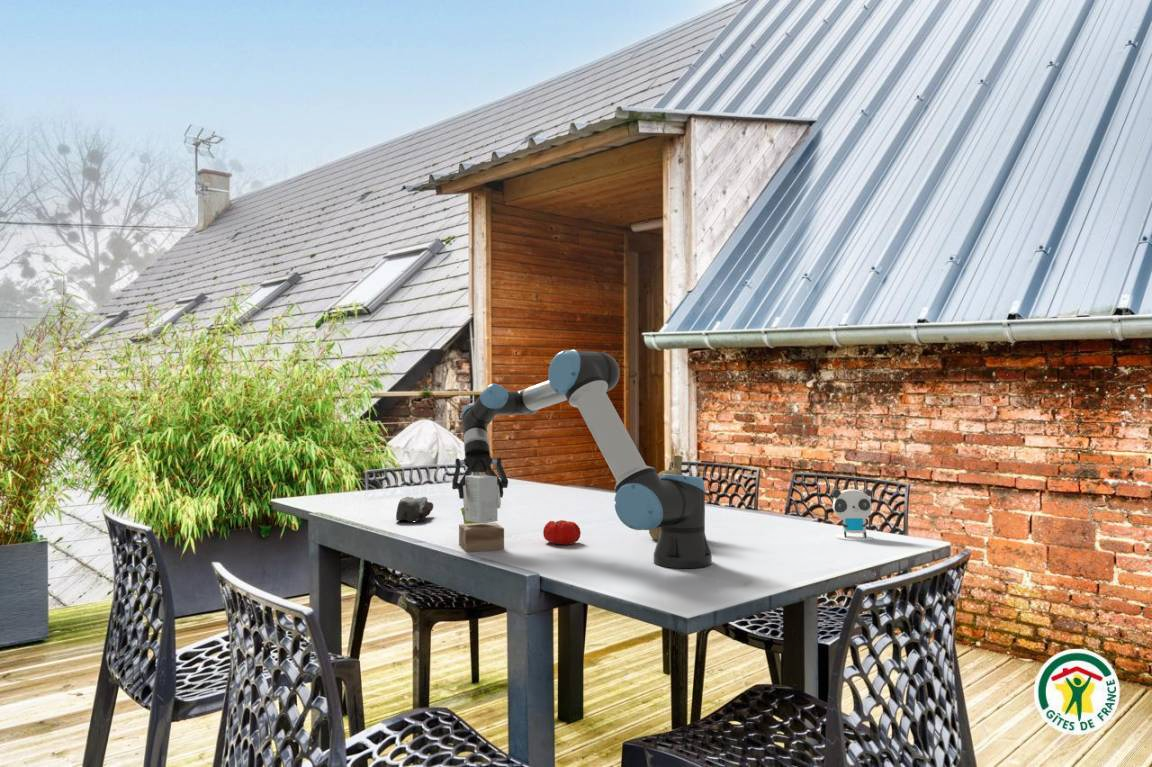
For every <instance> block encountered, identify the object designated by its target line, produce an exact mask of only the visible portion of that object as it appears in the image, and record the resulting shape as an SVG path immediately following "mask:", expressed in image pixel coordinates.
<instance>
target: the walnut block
mask: <svg viewBox="0 0 1152 767" xmlns="http://www.w3.org/2000/svg"><path fill="white" fill-rule="evenodd" d="M458 546H461V547H462V548H463V549H464V550H465V551H467V552H466V553H469V552H468V551H472V552H482V551H481V550H489V551H498V550H497V549H504V550H505V528H504V527H502V525H500V524H499V523H498V522H497V523H496V521H495V522H487V523H473V524H464V523H461V524H459V525H458ZM461 547H460V548H461ZM462 548H461V549H462ZM463 549H462V550H463ZM494 549H496V550H494ZM464 550H463V551H464ZM465 551H464V552H465Z"/></svg>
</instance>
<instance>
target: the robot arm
mask: <svg viewBox="0 0 1152 767" xmlns="http://www.w3.org/2000/svg"><path fill="white" fill-rule="evenodd" d="M620 372H621V371H620V365H619V364H618V362H617V361H616V359H615V358H614V357H613V356H612V355H610V354H609V353H606V352H602V351H588V350H586V351H585V350H575V349H570V350H562V351H560V352H558V353H557V354H555V355H554V357H553V358H552V360H551V361H550V365H549V370H548V376H547V377H548V380H546V381H543V382H540V383H537V384H535V385H531V386H529V387H527V388H524V389H520V390H507V389H506V388H505V387H503V385H501V384H500V385H499V384H497V383H490V384H489V385H487V387H486V388H485V389H484V390H482V392H481V393H480V395H479V396H478V397H477V399H476V401H475V402H474V403H469V404H468V405H465V406H464V407H463V408H462V410H461V418H460V420H461V426H462V435H463V444H464V445H463V448H464V459H460V458H458V457H457V458H455V459H454V460H455V462H454V466H455V471H454V474H453V479H452V484H451V488H452V490H458V497H459V499H460V500H462V501H463V507H464V509H467V495H466V486H465V476H471V475H473V473H484V475H488V476H496V477H497V509H501V504H502V501H501V500H502V498H503V496H504V489H506V488H509V487H508V486H509V480H508V477H507V475H506V472H505V469H504V468H503V465H502V459H501V457H497V459H495V458H492V457H491V452H490V441H489V436H488V435H489V434H488V427H489V425H490V423H491V422H492V421H493V420H494V418H495V417H497V416H509V415H510V416H512V415H518V416H519V415H524V416H529V415H534V414H536V413H537V412H538V411H539V410H541V409H543V408H547V407H551V406H553V405H557V404H560V403H562V402H565V401H566V402H568V404H569V405H570V406H571V407H573V408H577V409H578V410H579V413H580V414H581V417H582V418H583V420H584V422H585V425H586V426H587V427H588V429H589V431H590V433H591V435H592V437H593V439H594V441H595V443H596V444H597V447H598V448H599V450H600V452H601V455H602V456H603V458H604V459H605V461H606V463H607V464H606V465H608V467H609V469H610V471H611V473H612V475H613V477H614V479H615V480H616V481H615V482H616V483H615V486H614V491H615V496H614V502H615V503H614V511H615V513H616V514H617V515H616V516H617V517H618V519H619V520H620V522H622V524H623V525H624V526H626V527H627V528H628V529H632V530H635V531H649V530H651V529H654V528H658V527H660V536H659V539H658V540H657V543H656V545H655V549H654V552H653V563H654V564H655V565H658V566H661V567H668V568H674V569H698V568H704V567H708V566H711V565H712V562H713V561H712V560H713V558H712V552H711V550H710V549H711V548H710V546H709V543H708V540H707V536H706V529H705V528H706V526H705V525H706V521H705V520H706V519H705V518H706V507H705V506H706V499H705V498H706V490H705V488H706V487H705V480H704V479H703V478H702V477H701V476H692V475H683V474H682V475H673V474H662V475H661V476H660V477H659V475H658V473H657V472H658V471H657V470H656V468H655V467H652V466H650V465H647V464H646V463H645V460H644V459H643V457H642V455H641V453H640V452H639V450H638V448H637V446H636V444H635V443H634V440H633V439H632V437H631V435H630V433H629V432H628V430H627V428H626V426H625V425H624V423H623V421H622V419H621V418H620V415H619V414H618V412H617V410H616V408H615V406H614V405H613V403H612V401H611V400H610V398H609V396H608V394H607V392H609V391H611V390H613V389H614V388H615V386H616V385H617V384H618V382H619V379H620ZM463 465H465V467H466V468H467V469H466V470H465V472H464V474H463V475H462V477H461V480H460V481H459V479H460V477H459V476H460V474H461V473H460V472H461V468H463ZM491 465H493V466H494V468H495V469H496V472H497V474H498V475H497V474H496V473H495V471H494V470H493V468H492V466H491ZM458 481H459V482H458Z"/></svg>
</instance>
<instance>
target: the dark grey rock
mask: <svg viewBox="0 0 1152 767" xmlns="http://www.w3.org/2000/svg"><path fill="white" fill-rule="evenodd" d="M433 509H434V503H433V502H429V501H428V498H427V497H426V496H423V497H416V498H414V497H411V496H405V497H402V498H401V499H399V501H398V504H397V509H396V514H395V520H396V521H397V520H399V521H405V520H406V521H408V522H410V521H416V522H418V521H419V520H422V519H423V518H426V517H428V516H429V515H430V514H431V512H432V511H433ZM418 519H419V520H418ZM417 520H418V521H417Z"/></svg>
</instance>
